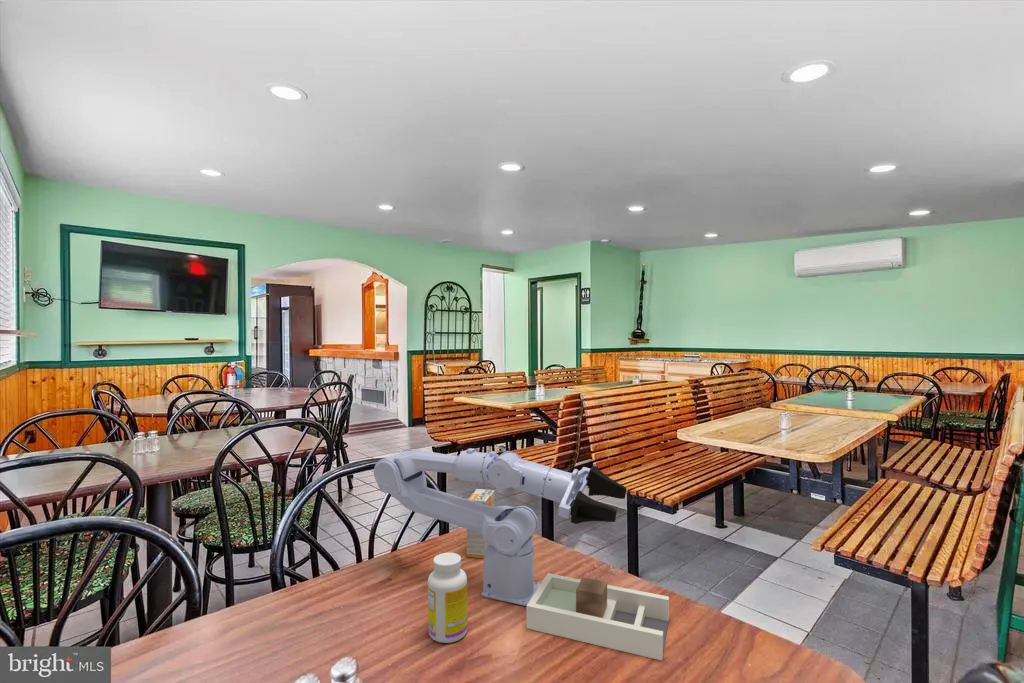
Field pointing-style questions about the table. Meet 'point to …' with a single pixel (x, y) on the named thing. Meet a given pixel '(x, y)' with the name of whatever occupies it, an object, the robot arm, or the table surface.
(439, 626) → the supplement bottle
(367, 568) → the table surface
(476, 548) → the supplement box
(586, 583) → the walnut block
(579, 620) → the track
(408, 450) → the robot arm
